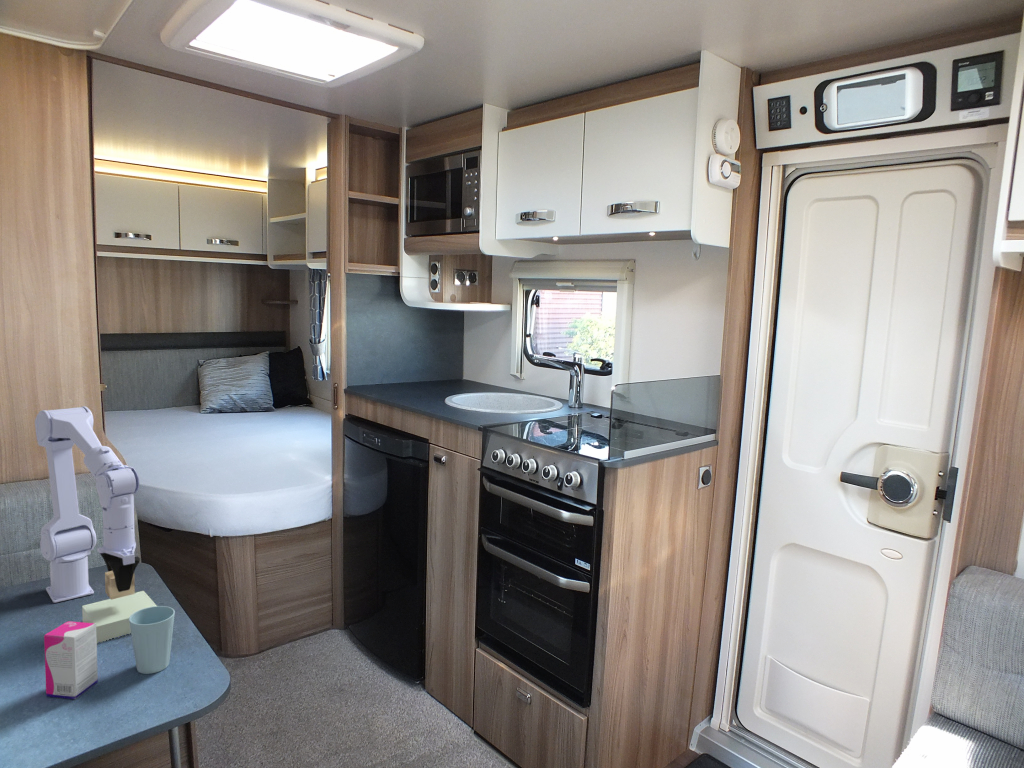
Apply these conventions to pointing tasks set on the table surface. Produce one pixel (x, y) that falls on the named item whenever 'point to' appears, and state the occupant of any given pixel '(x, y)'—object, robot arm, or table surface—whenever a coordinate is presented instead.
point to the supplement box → (70, 659)
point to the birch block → (112, 588)
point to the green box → (114, 614)
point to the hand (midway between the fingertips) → (120, 586)
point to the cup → (152, 637)
